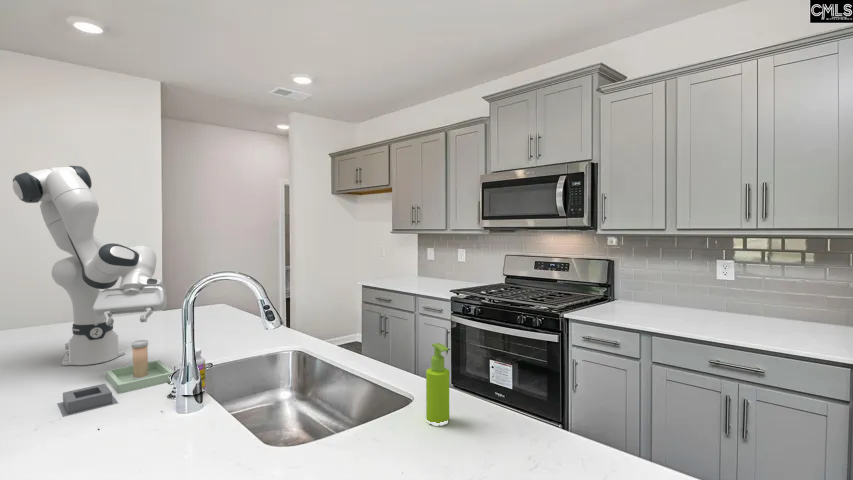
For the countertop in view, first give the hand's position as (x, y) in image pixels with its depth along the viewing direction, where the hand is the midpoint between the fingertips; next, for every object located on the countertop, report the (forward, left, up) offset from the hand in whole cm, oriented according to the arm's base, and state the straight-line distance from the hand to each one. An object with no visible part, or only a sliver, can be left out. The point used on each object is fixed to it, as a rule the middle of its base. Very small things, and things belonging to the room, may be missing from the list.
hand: (126, 322), depth 140 cm
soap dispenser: (+90, +49, -19) cm, 104 cm away
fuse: (+3, +3, -18) cm, 19 cm away
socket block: (+14, -12, -19) cm, 27 cm away
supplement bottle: (+24, +12, -19) cm, 33 cm away
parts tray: (+3, +3, -19) cm, 20 cm away
